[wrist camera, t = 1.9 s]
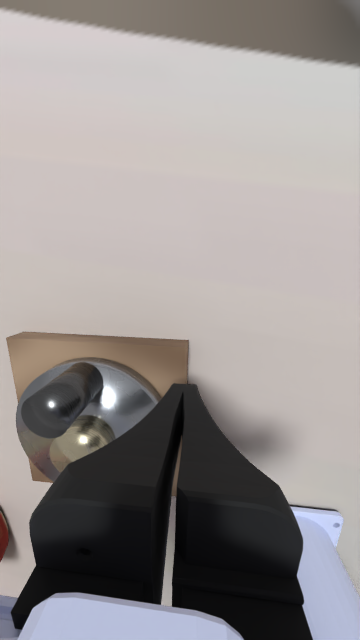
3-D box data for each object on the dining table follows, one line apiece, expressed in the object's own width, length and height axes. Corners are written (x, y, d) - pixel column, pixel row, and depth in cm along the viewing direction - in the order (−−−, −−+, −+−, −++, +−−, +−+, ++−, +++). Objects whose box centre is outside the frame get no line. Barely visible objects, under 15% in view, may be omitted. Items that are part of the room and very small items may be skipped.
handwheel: (169, 488, 16) (159, 575, 11) (40, 474, 17) (-19, 550, 12) (172, 359, 13) (159, 403, 9) (18, 350, 14) (-67, 386, 10)
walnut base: (183, 478, 18) (182, 498, 16) (45, 464, 19) (31, 481, 17) (188, 340, 15) (187, 348, 13) (23, 331, 16) (4, 338, 14)
